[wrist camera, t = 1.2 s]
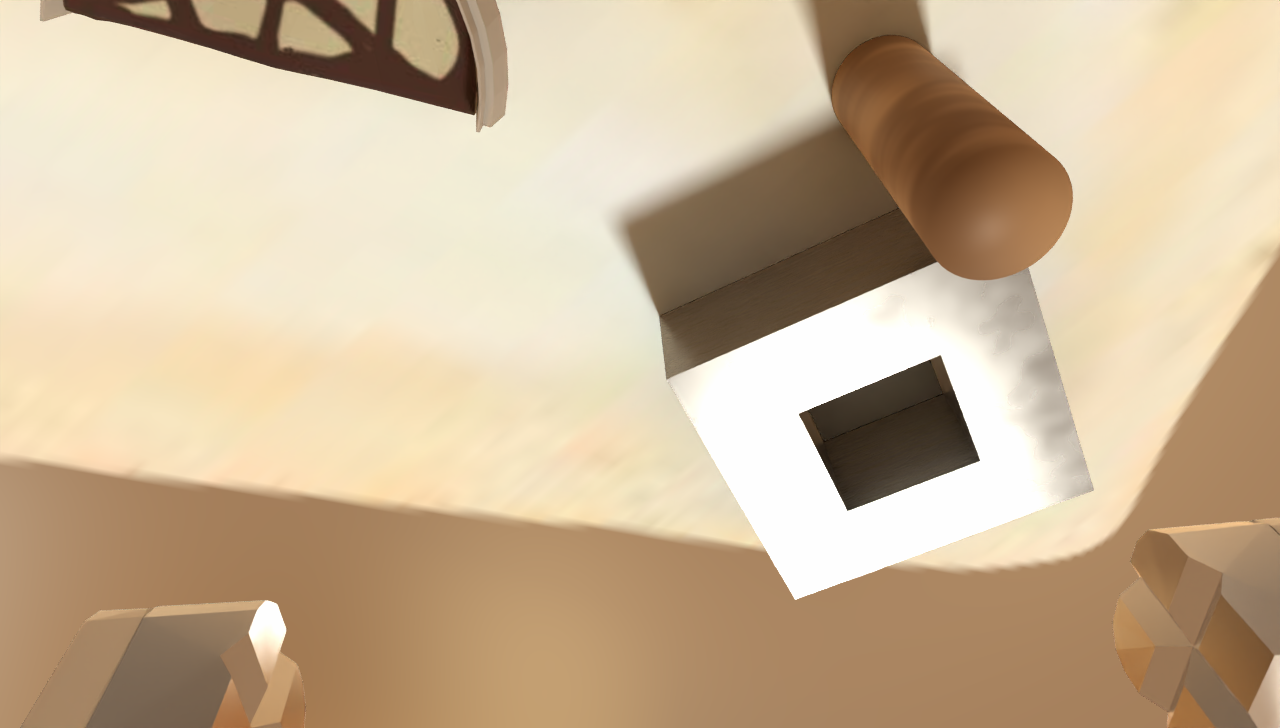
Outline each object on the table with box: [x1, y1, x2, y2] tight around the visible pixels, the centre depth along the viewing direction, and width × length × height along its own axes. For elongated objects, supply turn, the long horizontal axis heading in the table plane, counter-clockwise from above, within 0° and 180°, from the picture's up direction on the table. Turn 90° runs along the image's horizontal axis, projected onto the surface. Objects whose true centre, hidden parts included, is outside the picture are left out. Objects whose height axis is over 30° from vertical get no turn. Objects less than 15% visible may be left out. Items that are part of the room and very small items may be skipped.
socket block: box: [659, 208, 1094, 599], centre depth 40 cm, size 14×14×5 cm
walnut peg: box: [832, 35, 1073, 280], centre depth 30 cm, size 4×4×12 cm
